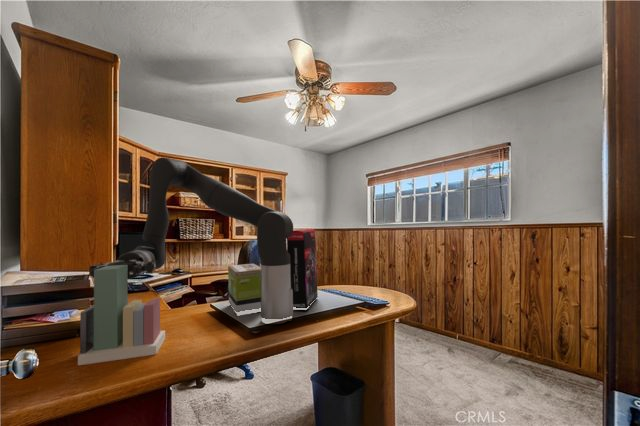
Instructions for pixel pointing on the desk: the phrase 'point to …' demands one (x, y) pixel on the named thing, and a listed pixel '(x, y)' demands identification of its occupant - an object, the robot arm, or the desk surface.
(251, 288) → the tea box
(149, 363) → the desk surface
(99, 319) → the book
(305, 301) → the graphics card box
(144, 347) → the shelf
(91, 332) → the bookend
